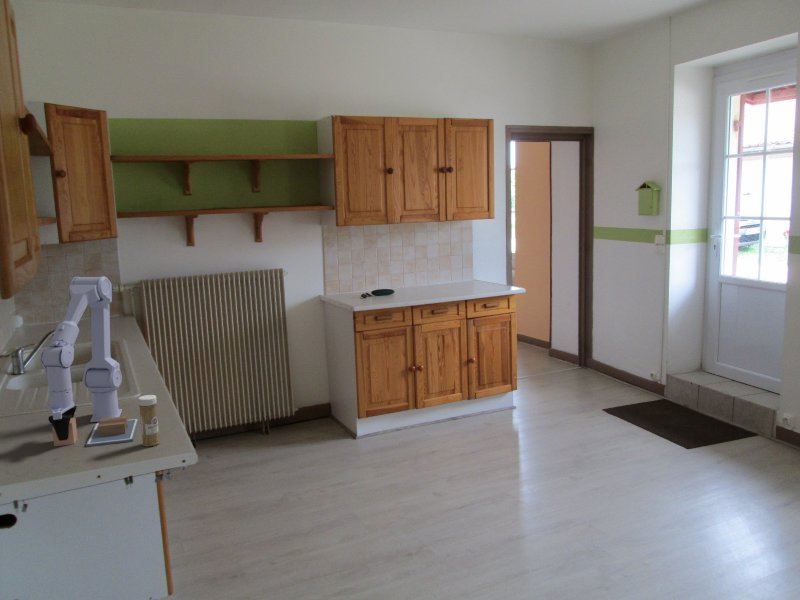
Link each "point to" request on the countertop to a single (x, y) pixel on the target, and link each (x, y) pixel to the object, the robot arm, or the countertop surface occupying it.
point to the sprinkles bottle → (149, 420)
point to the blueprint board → (112, 439)
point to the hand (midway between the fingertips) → (65, 436)
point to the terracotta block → (71, 436)
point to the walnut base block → (112, 426)
